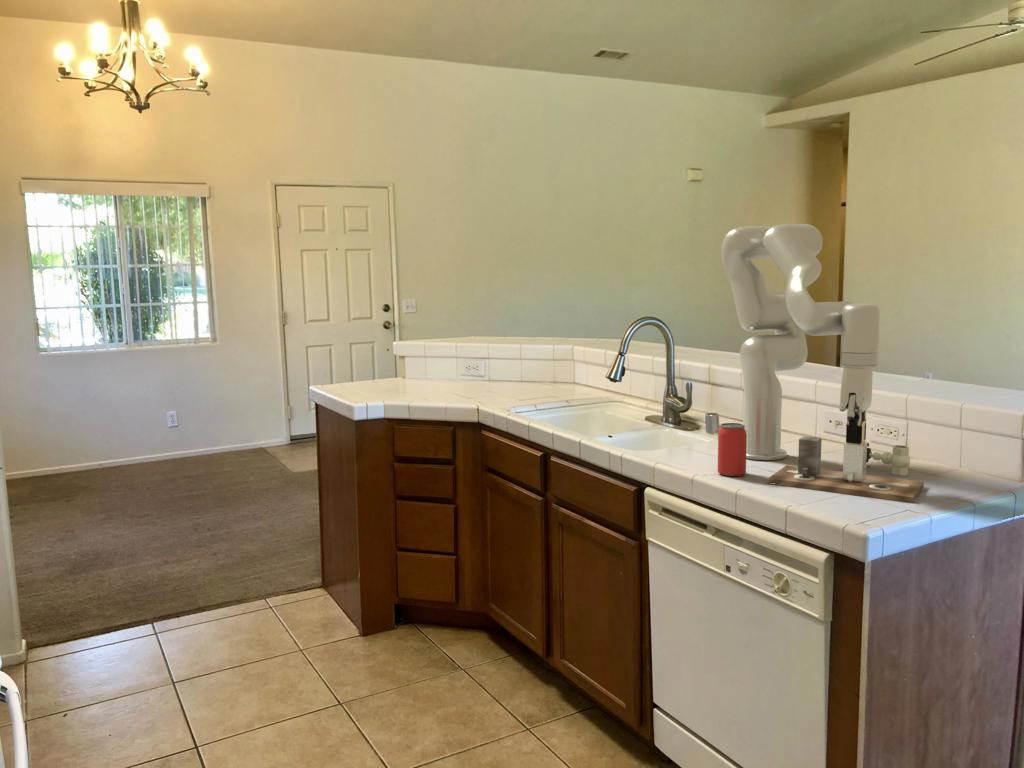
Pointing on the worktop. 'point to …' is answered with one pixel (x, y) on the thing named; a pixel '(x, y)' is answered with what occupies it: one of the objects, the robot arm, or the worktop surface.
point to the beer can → (732, 449)
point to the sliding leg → (855, 459)
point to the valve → (893, 458)
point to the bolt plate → (840, 477)
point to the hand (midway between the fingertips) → (855, 440)
